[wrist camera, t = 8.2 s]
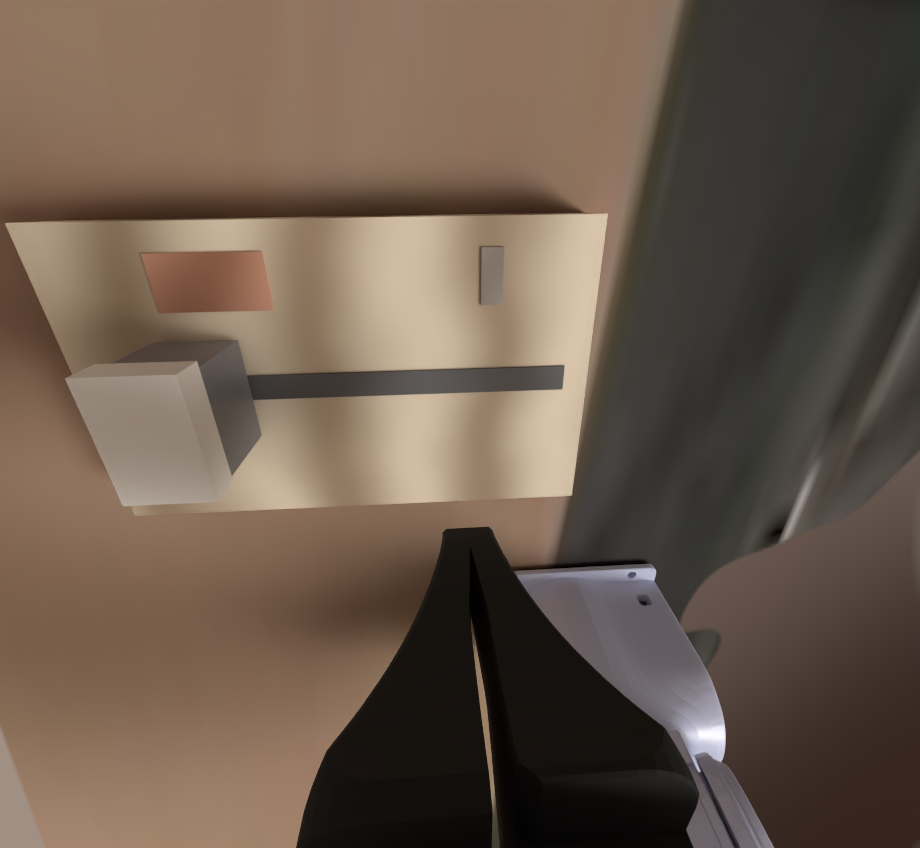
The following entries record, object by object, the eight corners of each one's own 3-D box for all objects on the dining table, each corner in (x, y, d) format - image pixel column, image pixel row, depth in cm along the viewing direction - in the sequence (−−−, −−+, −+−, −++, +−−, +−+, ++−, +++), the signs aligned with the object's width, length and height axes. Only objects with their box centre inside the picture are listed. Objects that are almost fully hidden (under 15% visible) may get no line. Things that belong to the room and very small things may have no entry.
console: (585, 212, 17) (608, 213, 15) (557, 467, 23) (572, 496, 20) (63, 220, 16) (1, 222, 14) (165, 484, 22) (133, 517, 19)
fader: (236, 334, 16) (176, 374, 12) (263, 439, 18) (218, 501, 14) (151, 337, 16) (64, 378, 12) (188, 442, 18) (123, 506, 14)
